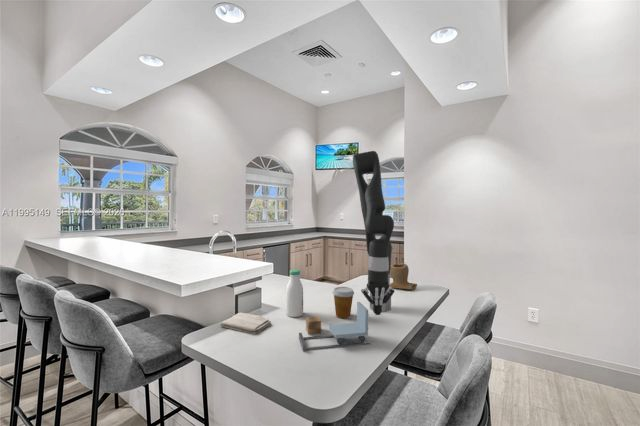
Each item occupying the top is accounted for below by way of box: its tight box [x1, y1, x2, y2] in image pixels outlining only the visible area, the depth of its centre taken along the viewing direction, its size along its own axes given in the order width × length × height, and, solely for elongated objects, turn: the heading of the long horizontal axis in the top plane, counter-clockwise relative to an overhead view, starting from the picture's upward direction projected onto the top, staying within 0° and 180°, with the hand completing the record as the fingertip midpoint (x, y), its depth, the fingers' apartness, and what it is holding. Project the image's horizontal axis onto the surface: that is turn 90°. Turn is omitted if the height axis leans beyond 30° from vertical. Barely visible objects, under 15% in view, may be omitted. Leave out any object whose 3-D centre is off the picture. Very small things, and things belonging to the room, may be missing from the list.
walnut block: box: [305, 315, 322, 335], centre depth 117 cm, size 5×5×5 cm
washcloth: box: [220, 312, 272, 335], centre depth 122 cm, size 12×18×3 cm, turn 67°
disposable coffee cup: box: [332, 286, 355, 320], centre depth 133 cm, size 10×10×12 cm
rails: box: [298, 332, 371, 352], centre depth 109 cm, size 24×10×2 cm, turn 102°
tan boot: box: [390, 262, 418, 291], centre depth 177 cm, size 15×12×15 cm
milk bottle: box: [285, 269, 304, 318], centre depth 134 cm, size 8×8×20 cm
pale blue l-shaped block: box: [328, 301, 369, 345], centre depth 110 cm, size 12×9×12 cm
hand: (377, 314), depth 112 cm, fingers closed
